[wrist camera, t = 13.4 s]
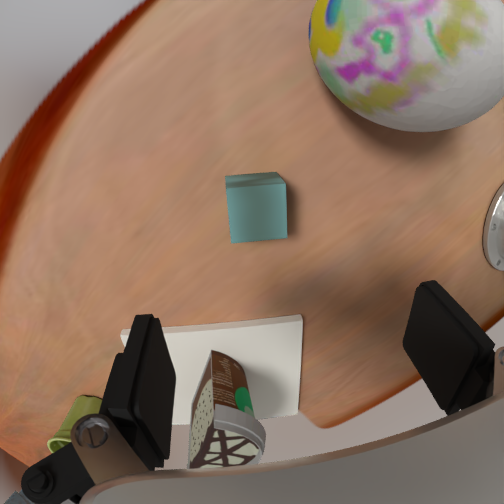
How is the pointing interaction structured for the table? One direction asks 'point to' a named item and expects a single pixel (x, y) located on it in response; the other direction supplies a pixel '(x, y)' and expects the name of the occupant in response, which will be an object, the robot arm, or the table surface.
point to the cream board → (240, 361)
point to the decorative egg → (411, 59)
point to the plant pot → (73, 420)
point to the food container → (223, 418)
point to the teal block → (256, 207)
